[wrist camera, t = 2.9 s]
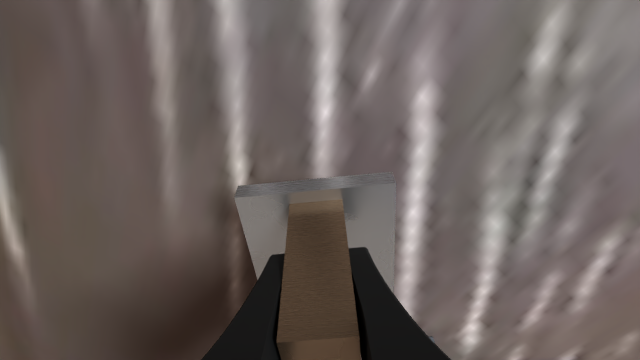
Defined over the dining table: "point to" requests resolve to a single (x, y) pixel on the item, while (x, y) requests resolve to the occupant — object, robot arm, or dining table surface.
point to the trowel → (320, 254)
